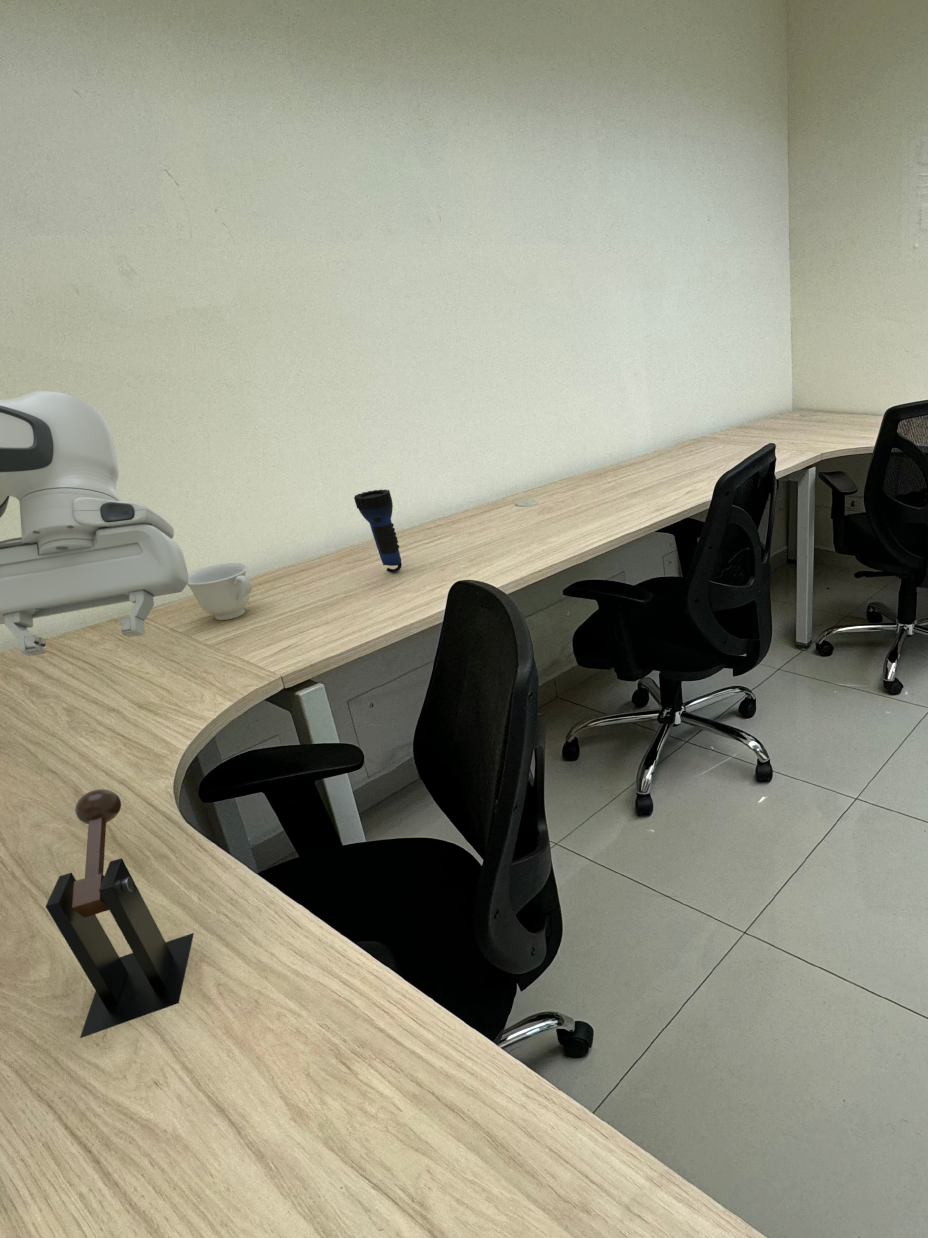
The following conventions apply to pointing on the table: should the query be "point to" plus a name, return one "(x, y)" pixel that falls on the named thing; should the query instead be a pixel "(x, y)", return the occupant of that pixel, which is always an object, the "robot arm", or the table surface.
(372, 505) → the flashlight
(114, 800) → the lever
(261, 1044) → the table surface
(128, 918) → the bracket
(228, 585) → the teacup
